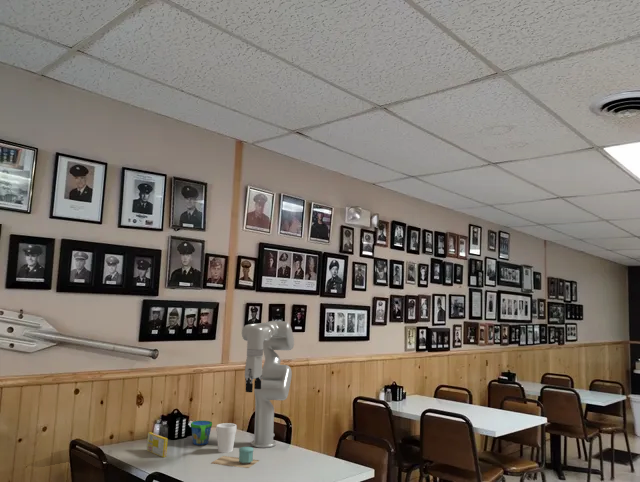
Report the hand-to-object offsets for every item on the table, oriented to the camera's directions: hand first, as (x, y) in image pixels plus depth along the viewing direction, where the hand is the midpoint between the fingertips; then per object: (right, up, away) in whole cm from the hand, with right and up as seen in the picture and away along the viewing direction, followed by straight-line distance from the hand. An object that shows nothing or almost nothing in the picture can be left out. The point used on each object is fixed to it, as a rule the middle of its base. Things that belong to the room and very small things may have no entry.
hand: (253, 390), depth 244 cm
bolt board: (-6, -29, -14) cm, 33 cm away
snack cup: (-29, -32, +20) cm, 48 cm away
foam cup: (-14, -31, +2) cm, 34 cm away
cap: (-1, -26, -16) cm, 30 cm away
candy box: (-45, -30, +1) cm, 54 cm away
